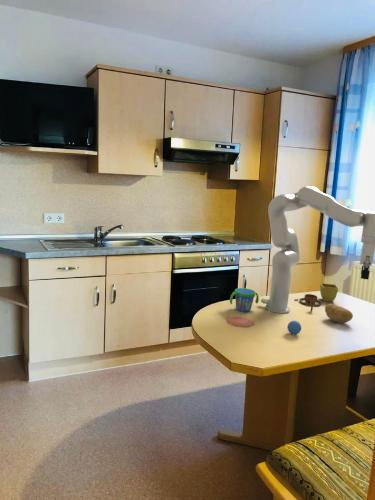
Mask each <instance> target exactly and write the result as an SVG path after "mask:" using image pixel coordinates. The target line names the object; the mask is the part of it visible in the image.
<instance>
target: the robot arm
mask: <svg viewBox="0 0 375 500" xmlns="http://www.w3.org/2000/svg"><path fill="white" fill-rule="evenodd" d="M306 207H310V208H311V209H314V210H316V211H318V212H320V213H322V214H324V215H325V216H326V217H328V218H330V219H332V220H333V221H335V222H338V223H339V224H341V225H344V226H346V227H349V228H354V227H362V231H361V232H362V233H361V238H360V243H362V248H361V253H360V260H359V264H360V265H361V271H360V279H362V280H367V281H368V280H369V278H370V272H371V271H370V268H371V266H372V265H373V262H374V257H375V211H365V210H361V209H351V208H349V207H347V206H344V205H342V204H340V203H338V201H336V199H335V198H334V196H331V195H328V194H326V193H324V192H322V191H320V190H319V188H317V187H315V186H307V185H306V186H302V187H301V188H300V189H298V191H297V192H294V193H290V194H289V193H283V194H278V195H276V196H275V197H274V198H272V199H271V201H270V203H269V205H268V208H267V213H268V219H269V226H270V234H271V241H272V244H273V246H274V247H276V248H279V249H280V248H281V250H278V251H277V252H275V254H274V255H273V256H272V259H271V260H272V261H271V263H272V264H271V267H272V268H271V269H272V270H271V271H272V272H271V273H272V274H271V282H270V283H271V284H270V290H269V298H267V299H266V298H261V299H260V302H261V303H262V304H265V309H266V310H267V311H269V312H272V313H277V314H287V313H288V314H289V312H290V311H291V308H290V307H289V306H288V304H289V302H288V301H289V295H290V287H291V279H292V271H291V268H292V267H294V266H296V265H298V264H299V261H300V259H301V258H300V257H301V255H300V249H299V248H300V247H299V242H298V235H297V234H296V232H295V231H294V230H293V229H291V228H289V227H288V220H287V217H286V215H285V213H286V212H294V211H297V210H299V209H304V208H306Z"/></svg>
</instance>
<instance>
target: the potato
mask: <svg viewBox="0 0 375 500" xmlns="http://www.w3.org/2000/svg"><path fill="white" fill-rule="evenodd" d="M324 311H325V313H326V317H327V318H328V319H330V321H332V322H334V323H340V324H341V323H342V324H346V323H348V322H351V321H352V319H353V317H354V316H353V312H351V311H350V310H349V309H347V308H345V307H343V306H340V305H337V304H334V303H329V304H327V305H325V307H324Z"/></svg>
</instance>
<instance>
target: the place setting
mask: <svg viewBox="0 0 375 500" xmlns="http://www.w3.org/2000/svg"><path fill="white" fill-rule="evenodd" d="M294 301H295V302H297V301H299V302H300V304H302V305H304V306H308V307H310V312H313V310H314V307H320V306H321V305H322V301H320V300H318V295H315V294H311V293H307V294H304V297H301V298H298V299H294ZM304 301H305V302H304ZM316 303H318V304H316Z"/></svg>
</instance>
